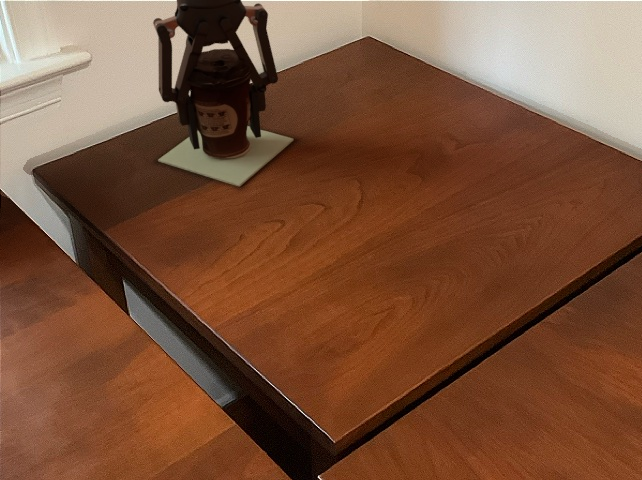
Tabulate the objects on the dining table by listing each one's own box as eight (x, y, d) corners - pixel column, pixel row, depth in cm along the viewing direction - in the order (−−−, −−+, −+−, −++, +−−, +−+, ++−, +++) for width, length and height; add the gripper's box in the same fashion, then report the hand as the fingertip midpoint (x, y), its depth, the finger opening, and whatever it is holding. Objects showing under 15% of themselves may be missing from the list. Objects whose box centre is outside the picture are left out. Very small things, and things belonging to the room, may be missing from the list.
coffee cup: (241, 170, 106) (230, 78, 98) (183, 160, 108) (168, 68, 100) (267, 138, 112) (260, 48, 104) (213, 128, 114) (201, 40, 106)
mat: (158, 161, 108) (157, 159, 108) (216, 119, 117) (215, 117, 117) (239, 186, 103) (239, 185, 103) (293, 140, 112) (293, 138, 112)
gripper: (119, -12, 89) (153, 167, 104) (298, -36, 95) (307, 137, 109) (110, -34, 95) (143, 139, 109) (280, -55, 100) (290, 112, 115)
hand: (225, 138), depth 109 cm, fingers closed on coffee cup, 8 cm apart
